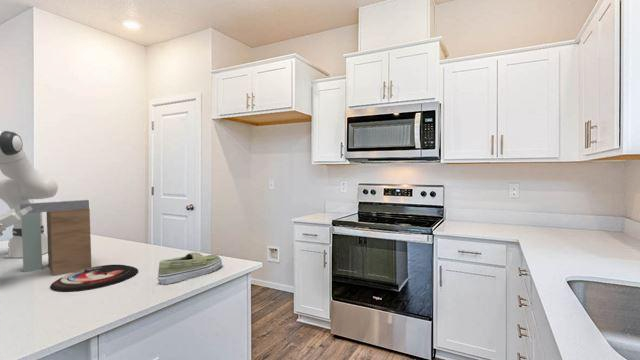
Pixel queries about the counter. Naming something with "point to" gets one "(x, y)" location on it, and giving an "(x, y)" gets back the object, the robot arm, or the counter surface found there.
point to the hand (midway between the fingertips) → (31, 206)
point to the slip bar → (56, 206)
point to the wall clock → (94, 278)
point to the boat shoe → (187, 267)
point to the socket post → (31, 241)
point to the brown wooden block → (68, 241)
